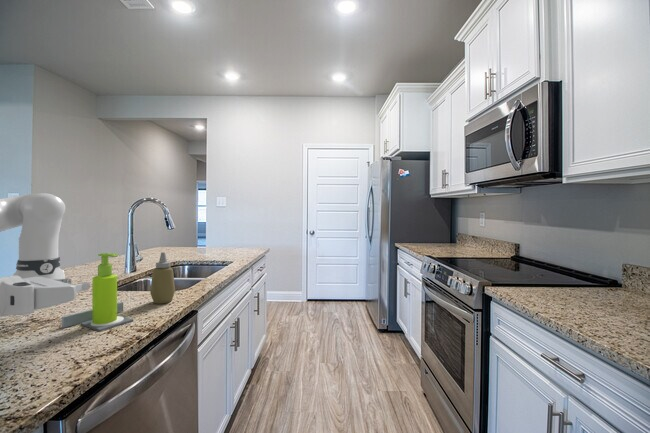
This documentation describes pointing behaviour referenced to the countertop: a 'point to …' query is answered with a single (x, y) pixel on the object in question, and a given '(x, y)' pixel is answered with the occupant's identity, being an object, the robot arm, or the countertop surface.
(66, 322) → the acrylic wall
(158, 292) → the squeeze bottle
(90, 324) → the mat
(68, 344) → the countertop surface
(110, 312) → the soap dispenser
